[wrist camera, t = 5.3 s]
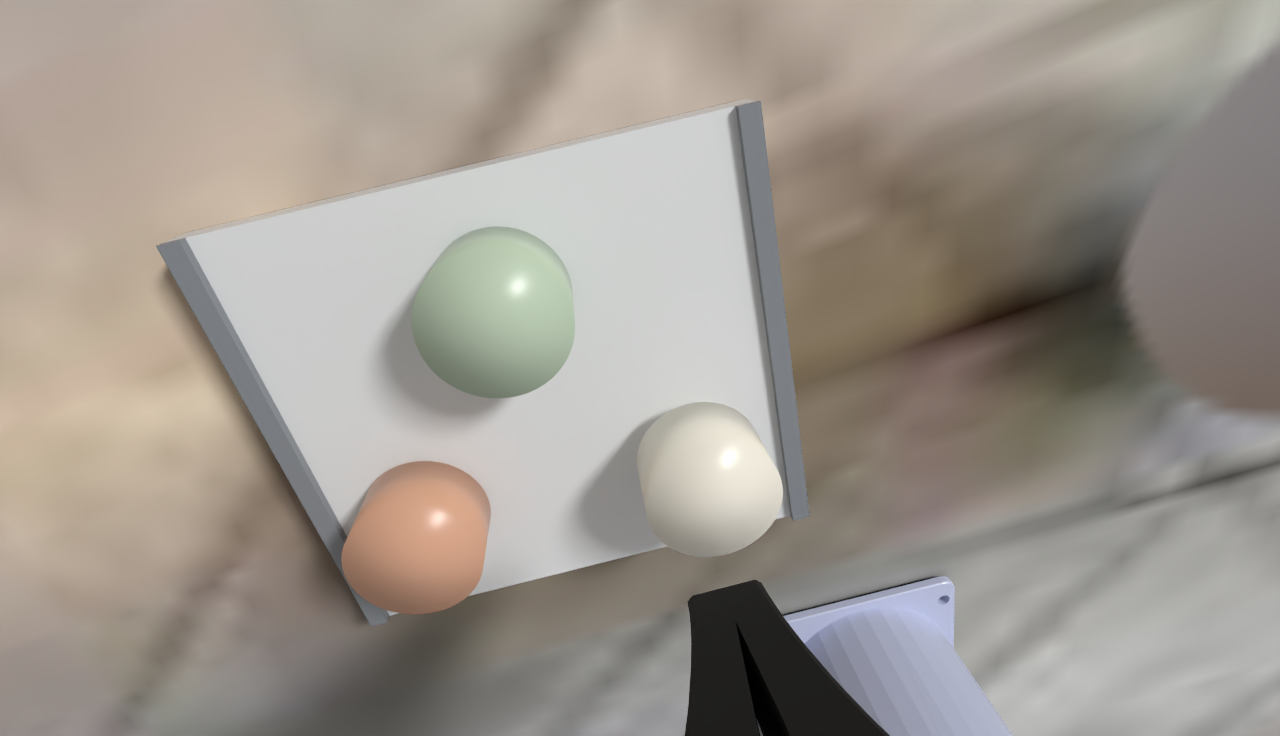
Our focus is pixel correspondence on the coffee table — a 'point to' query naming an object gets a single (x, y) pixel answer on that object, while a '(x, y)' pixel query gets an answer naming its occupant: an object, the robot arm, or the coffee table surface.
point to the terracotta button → (418, 539)
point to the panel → (585, 385)
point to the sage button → (495, 313)
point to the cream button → (707, 480)
